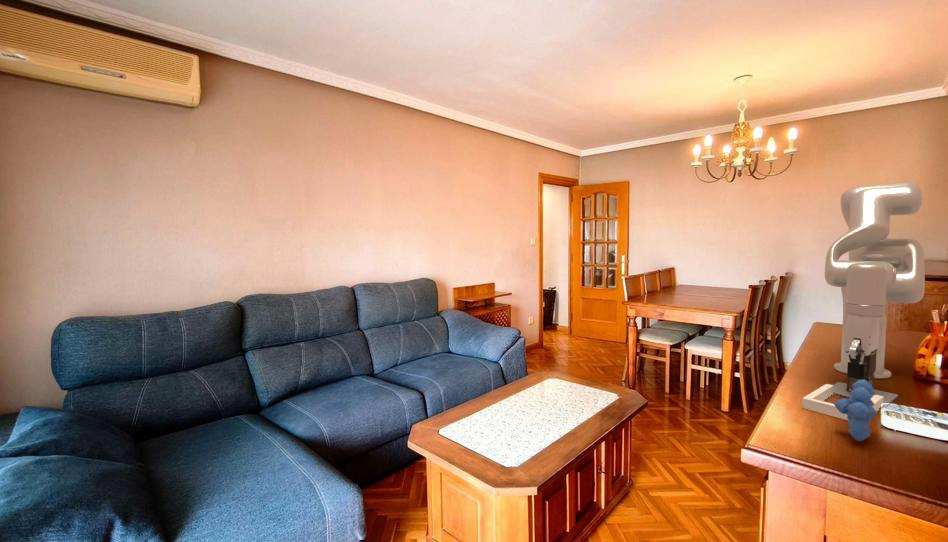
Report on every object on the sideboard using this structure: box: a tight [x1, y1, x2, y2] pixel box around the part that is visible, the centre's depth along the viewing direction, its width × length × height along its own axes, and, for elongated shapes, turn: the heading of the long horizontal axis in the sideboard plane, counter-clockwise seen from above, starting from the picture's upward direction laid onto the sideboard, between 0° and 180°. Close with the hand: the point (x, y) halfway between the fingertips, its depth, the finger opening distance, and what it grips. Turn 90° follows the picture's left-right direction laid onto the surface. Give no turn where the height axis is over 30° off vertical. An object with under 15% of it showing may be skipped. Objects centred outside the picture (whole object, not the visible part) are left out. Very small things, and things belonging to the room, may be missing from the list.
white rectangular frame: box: [801, 383, 884, 422], centre depth 99 cm, size 16×11×2 cm, turn 123°
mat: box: [833, 381, 899, 404], centre depth 107 cm, size 11×12×1 cm
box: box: [846, 349, 877, 393], centre depth 107 cm, size 6×4×12 cm
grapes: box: [833, 380, 878, 442], centre depth 85 cm, size 12×7×12 cm, turn 132°
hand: (861, 374), depth 107 cm, fingers open, 9 cm apart
